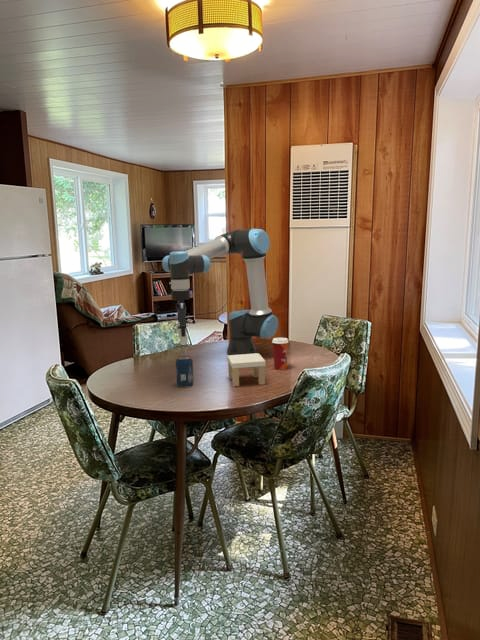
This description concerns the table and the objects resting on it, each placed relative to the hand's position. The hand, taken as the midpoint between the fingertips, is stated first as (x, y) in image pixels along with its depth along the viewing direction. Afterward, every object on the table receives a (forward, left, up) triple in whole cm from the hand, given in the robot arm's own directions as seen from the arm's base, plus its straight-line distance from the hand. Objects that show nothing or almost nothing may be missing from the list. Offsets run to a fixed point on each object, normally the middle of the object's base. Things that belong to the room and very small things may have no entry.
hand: (182, 340), depth 198 cm
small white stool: (+1, +26, -19) cm, 32 cm away
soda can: (0, 0, -19) cm, 19 cm away
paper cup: (-14, +45, -19) cm, 51 cm away
